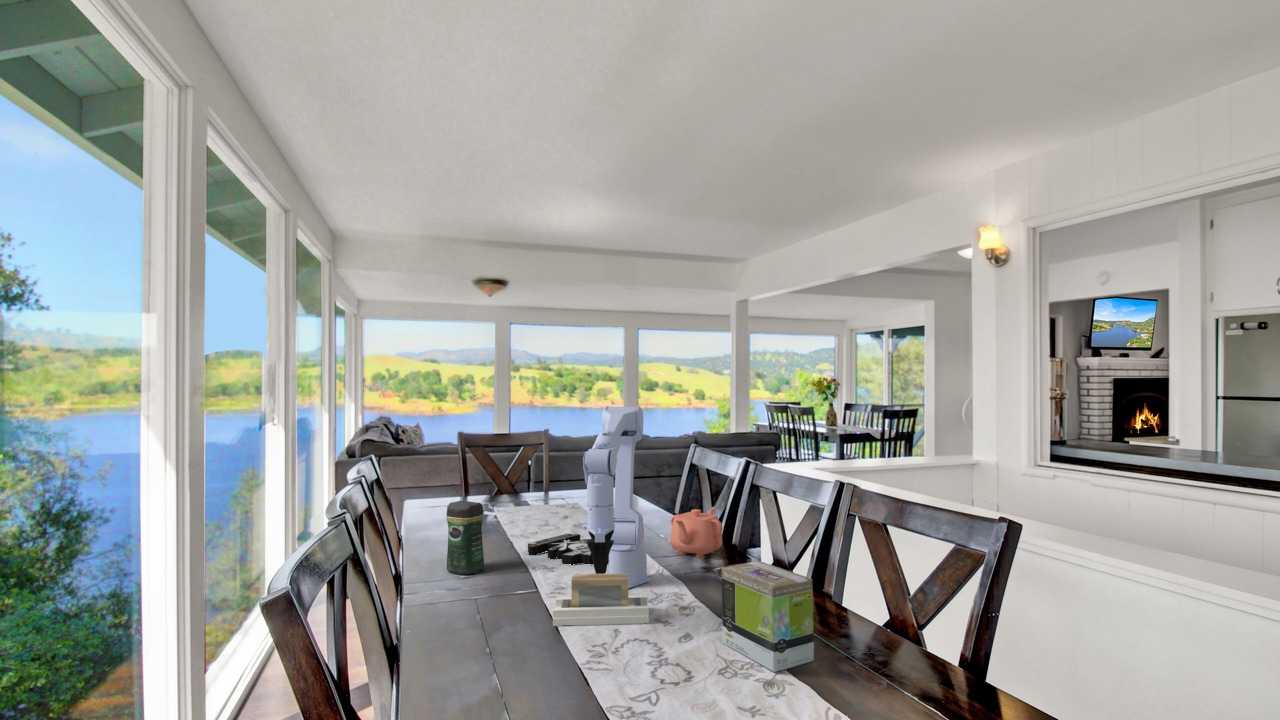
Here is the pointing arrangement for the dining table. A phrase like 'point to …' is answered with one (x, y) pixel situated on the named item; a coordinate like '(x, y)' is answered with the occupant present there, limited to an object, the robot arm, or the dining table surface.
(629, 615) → the cream rectangular frame
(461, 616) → the dining table surface
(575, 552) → the sign
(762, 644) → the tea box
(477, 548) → the coffee jar
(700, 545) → the teapot
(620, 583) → the beige rectangular panel
